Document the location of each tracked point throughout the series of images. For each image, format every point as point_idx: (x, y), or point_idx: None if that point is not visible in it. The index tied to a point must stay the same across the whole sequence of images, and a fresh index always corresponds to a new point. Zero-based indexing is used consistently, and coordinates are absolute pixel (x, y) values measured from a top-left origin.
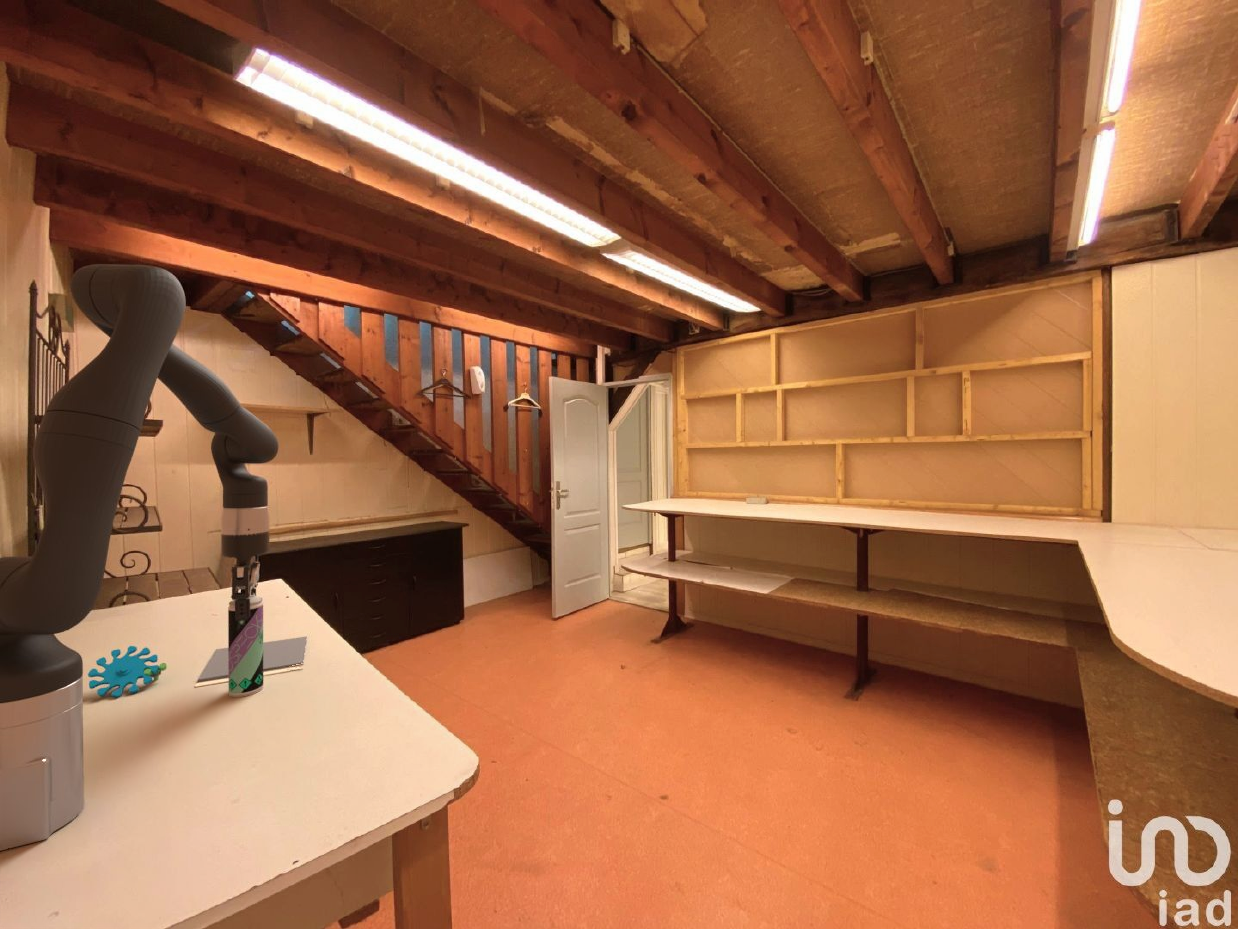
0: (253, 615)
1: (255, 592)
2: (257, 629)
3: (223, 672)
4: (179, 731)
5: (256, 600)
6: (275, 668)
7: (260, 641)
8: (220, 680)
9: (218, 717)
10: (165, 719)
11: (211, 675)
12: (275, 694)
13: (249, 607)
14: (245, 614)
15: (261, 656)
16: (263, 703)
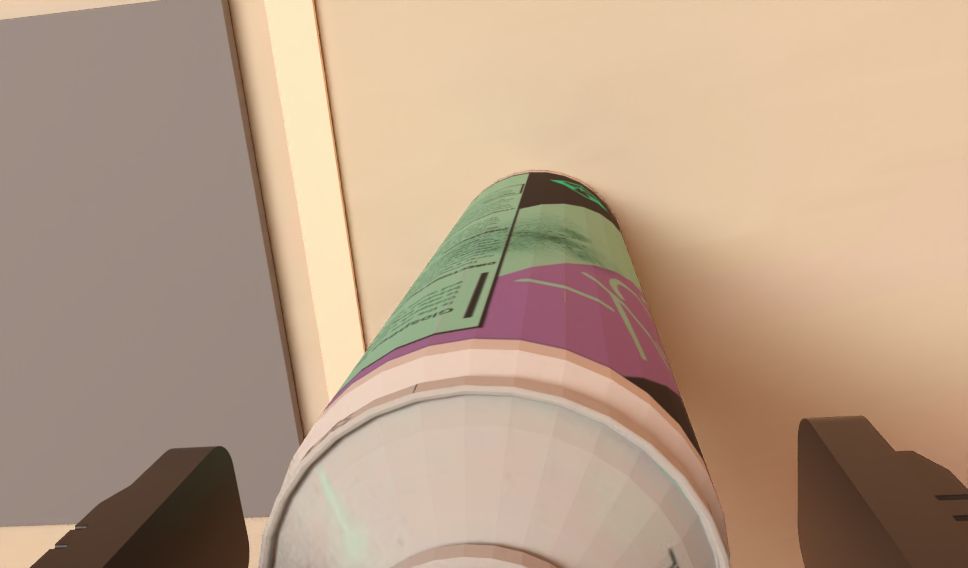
0: (670, 389)
1: (106, 563)
2: (619, 290)
3: (246, 420)
4: (929, 442)
5: (601, 462)
6: (251, 156)
7: (576, 237)
8: None
9: (852, 312)
10: (745, 530)
11: (273, 467)
12: (669, 79)
13: (928, 493)
14: (956, 484)
15: (565, 206)
16: (777, 121)
